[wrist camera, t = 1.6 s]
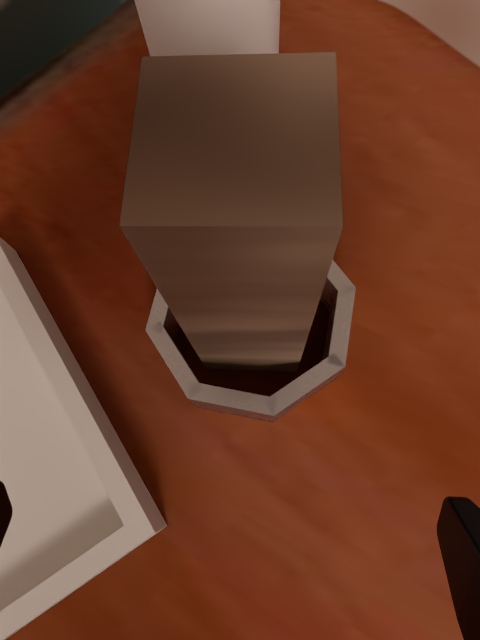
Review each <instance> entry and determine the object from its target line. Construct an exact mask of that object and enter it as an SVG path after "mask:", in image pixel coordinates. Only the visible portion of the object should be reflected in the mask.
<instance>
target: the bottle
mask: <svg viewBox="0 0 480 640" xmlns="http://www.w3.org/2000/svg"><path fill="white" fill-rule="evenodd" d="M134 1H135V4H136V8H137V11H138V15H139V18H140V22H141V25H142V29H143V32H144V36H145V40H146V43H147V47H148V50H149V54H150V56H185V55H230V54H275V53H279V24H280V0H134Z"/></svg>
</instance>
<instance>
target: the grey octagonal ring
mask: <svg viewBox="0 0 480 640" xmlns="http://www.w3.org/2000/svg"><path fill="white" fill-rule="evenodd" d="M355 289H356V287H355V286H354V285H353V284H352V282H351V281H350V280H349V279H348V278H347V276H346V275H345V274H344V273H343V272H342V270H341V269H340V268H339V267H338V265H337V264H336V263H335V262H334V261H333V260H332V263H331V266H330V269H329V272H328V275H327V279H326V282H325V285H324V288H323V291H322V294H321V297H320V300H321V301H322V302H323V303H324V305H325V306H326V307H327V309H328V310H329V311H330V314H329V321H328V327H327V334H326V341H325V347H324V354H323V361H322V362H320V363H319V364H317V365H316V366H314V367H313V368H311V369H310V370H308V371H307V372H305V373H304V374H302V375H301V376H300V377H298V378H297V379H295V380H294V381H292V382H291V383H289V384H288V385H286V386H285V387H283V388H282V389H280V390H279V391H277V392H276V393H275V394H273V395H272V396H270V397H268V396H263V395H258V394H253V393H248V392H243V391H237V390H232V389H227V388H222V387H217V386H212V385H207V384H201V383H200V381H199V380H198V378H197V377H196V375H195V374H194V372H193V370H192V369H191V367H190V366H189V364H188V363H187V361H186V360H185V358H184V356H183V355H182V353H181V352H180V350H179V349H178V347H177V345H176V344H175V341H176V337H177V333H178V329H179V323H178V322H177V320H176V319H175V317H174V315H173V314H172V312H171V310H170V309H169V307H168V305H167V304H166V302H165V301H164V299H163V297H162V296H161V294H160V292H159V291H158V289H157V290H156V294H155V297H154V301H153V304H152V308H151V312H150V315H149V319H148V322H147V326H146V330H145V331H146V332H147V334H148V335H149V337H150V338H151V340H152V342H153V343H154V345H155V346H156V348H157V350H158V351H159V353H160V355H161V356H162V358H163V359H164V361H165V363H166V364H167V366H168V367H169V369H170V371H171V372H172V374H173V375H174V377H175V379H176V380H177V382H178V383H179V385H180V387H181V388H182V390H183V392H184V393H185V395H186V396H187V398H188V399H189V400H190V401H191V402H192V403H193V404H194V405H195V406H197V407H199V408H204V409H209V410H214V411H219V412H224V413H229V414H234V415H239V416H244V417H249V418H254V419H259V420H264V421H269V422H274V421H275V420H277V419H278V418H280V417H281V416H283V415H284V414H286V413H287V412H288V411H290V410H291V409H293V408H294V407H296V406H297V405H299V404H300V403H301V402H303V401H304V400H306V399H307V398H309V397H310V396H312V395H313V394H314V393H316V392H317V391H319V390H320V389H322V388H323V387H325V386H326V385H327V384H329V383H330V382H332V381H333V380H335V379H336V378H337V377H338V375H339V374H340V373H341V372H342V370H343V369H344V368H345V364H346V356H347V349H348V342H349V334H350V327H351V319H352V312H353V304H354V297H355Z"/></svg>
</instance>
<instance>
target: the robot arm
mask: <svg viewBox="0 0 480 640" xmlns="http://www.w3.org/2000/svg"><path fill="white" fill-rule="evenodd" d="M12 512H13V511H12V505H11V502H10V499H9V496H8V493H7V491H6V488H5V485H4V483H3V482H2V481H0V547H1V544H2V542H3V539H4V537H5V534H6V532H7V529H8V526H9V524H10V521H11V518H12ZM437 536H438V541H439V545H440V549H441V554H442V558H443V562H444V566H445V571H446V575H447V579H448V583H449V588H450V592H451V596H452V600H453V604H454V608H455V612H456V616H457V620H458V623H459V626H460V629H461V633H462V636H463V638H464V640H480V508H479V507H478V506H477V505H476V504H474V503H473V502H472V501H471V500H470V499H468V498H466V497H446V498H445V499H444V501H443V504H442V508H441V512H440V515H439V519H438V523H437Z"/></svg>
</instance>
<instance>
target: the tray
mask: <svg viewBox="0 0 480 640" xmlns="http://www.w3.org/2000/svg"><path fill="white" fill-rule="evenodd" d="M0 481H2V482H3V483H4V485H5V488H6V491H7V493H8V496H9V499H10V502H11V505H12V511H13V512H12V518H11V521H10V524H9V526H8V529H7V532H6V534H5V537H4V539H3V542H2V544H1V547H0V640H6V639H7V638H8V637H10V636H11V635H13V634H14V633H16V632H17V631H18V630H20V629H21V628H23V627H24V626H26V625H27V624H28V623H30V622H31V621H33V620H34V619H35V618H37V617H38V616H40V615H41V614H43V613H44V612H45V611H47V610H48V609H50V608H51V607H53V606H54V605H55V604H57V603H58V602H60V601H61V600H63V599H64V598H65V597H67V596H68V595H70V594H71V593H73V592H74V591H75V590H77V589H78V588H80V587H81V586H83V585H84V584H85V583H87V582H88V581H90V580H91V579H93V578H94V577H95V576H97V575H98V574H100V573H101V572H103V571H104V570H105V569H107V568H108V567H110V566H111V565H113V564H114V563H115V562H117V561H118V560H120V559H121V558H122V557H124V556H125V555H127V554H128V553H130V552H131V551H132V550H134V549H135V548H137V547H138V546H140V545H141V544H142V543H144V542H145V541H147V540H148V539H150V538H151V537H152V536H154V535H155V534H157V533H158V532H160V531H161V530H162V529H164V528H165V527H167V524H166V522H165V520H164V519H163V517H162V515H161V513H160V511H159V509H158V508H157V506H156V504H155V502H154V500H153V499H152V497H151V495H150V493H149V491H148V490H147V488H146V486H145V484H144V482H143V480H142V479H141V477H140V475H139V473H138V471H137V470H136V468H135V466H134V464H133V462H132V460H131V459H130V457H129V455H128V453H127V451H126V450H125V448H124V446H123V444H122V442H121V441H120V439H119V437H118V435H117V433H116V431H115V430H114V428H113V426H112V424H111V422H110V421H109V419H108V417H107V415H106V413H105V411H104V410H103V408H102V406H101V404H100V402H99V401H98V399H97V397H96V395H95V393H94V392H93V390H92V388H91V386H90V384H89V382H88V381H87V379H86V377H85V375H84V373H83V372H82V370H81V368H80V366H79V364H78V362H77V361H76V359H75V357H74V355H73V353H72V352H71V350H70V348H69V346H68V344H67V343H66V341H65V339H64V337H63V335H62V333H61V332H60V330H59V328H58V326H57V324H56V323H55V321H54V319H53V317H52V315H51V313H50V312H49V310H48V308H47V306H46V304H45V303H44V301H43V299H42V297H41V295H40V294H39V292H38V290H37V288H36V286H35V284H34V283H33V281H32V279H31V277H30V275H29V274H28V272H27V270H26V268H25V266H24V264H23V263H22V261H21V259H20V257H19V255H18V254H17V252H16V250H14V249H13V248H12V247H11V246H10V245H9V244H7V243H6V242H5V241H4V240H3V239H2V238H1V237H0Z"/></svg>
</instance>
